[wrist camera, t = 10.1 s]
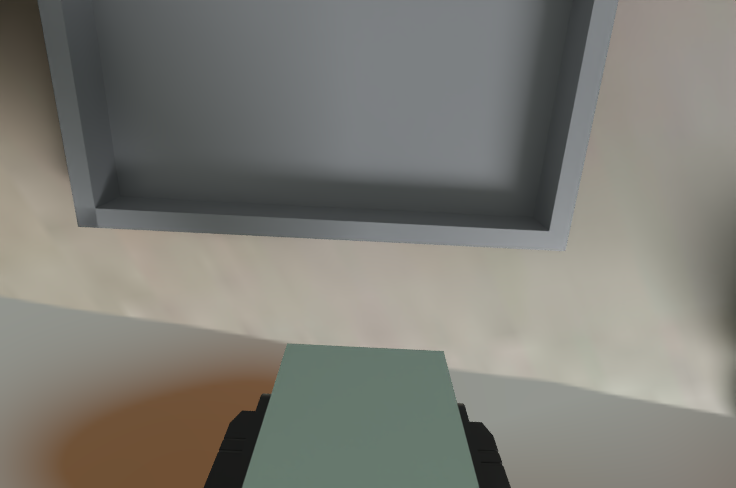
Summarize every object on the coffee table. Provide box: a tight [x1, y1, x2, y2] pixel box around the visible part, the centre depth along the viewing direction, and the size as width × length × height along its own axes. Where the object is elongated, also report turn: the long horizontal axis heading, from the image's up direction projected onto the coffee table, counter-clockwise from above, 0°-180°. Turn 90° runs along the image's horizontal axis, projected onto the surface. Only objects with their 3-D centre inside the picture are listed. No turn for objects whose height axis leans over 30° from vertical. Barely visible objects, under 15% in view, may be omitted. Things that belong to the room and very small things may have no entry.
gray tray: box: [38, 0, 618, 251], centre depth 17 cm, size 20×13×2 cm, turn 87°
